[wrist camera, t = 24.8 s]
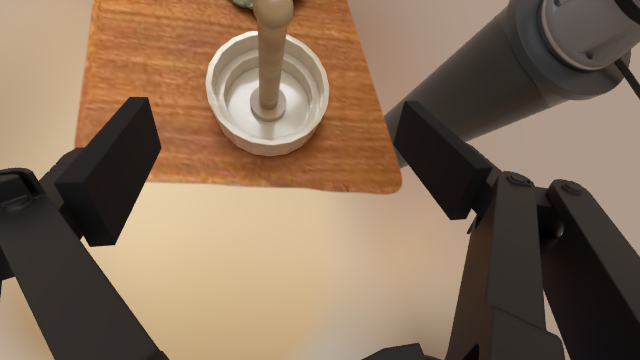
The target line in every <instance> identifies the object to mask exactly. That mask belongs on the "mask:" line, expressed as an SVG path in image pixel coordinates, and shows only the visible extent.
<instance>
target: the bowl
mask: <svg viewBox="0 0 640 360" xmlns="http://www.w3.org/2000/svg"><path fill="white" fill-rule="evenodd" d="M205 85H206V91H207V97H208V102H209V105H210V107H211V109H212V112H213V114H214V116H215V118H216V121H217V122H218V124H219V126H220V128H221V130H222V131H223V133H224V134H225V136H226V137H227V138H229V139H230V140H231V141H232V142H233V143H234V144H235V145H236V146H237V147H239V148H241V149H244V150H246V151H248V152H250V153H252V154H256V155H263V156H277V155H283V154H288V153H290V152H292V151H294V150H296V149H298V148H300V147H301V146H303V145H304V143H305V142H306V141H307V140H308V139H309V138H310V137H311V136H312V135H313V134H314V132H315V130H316V128H317V126H318V125H319V123H320V121H321V119H322V117H323V115H324V113H325V111H326V108H327V106H328V98H329V84H328V80H327V75H326V72H325V69H324V68H323V66H322V64H321V62H320V61H319V59H318V57H317V56H316V55H315V54H314V53H313V52H312V51H311V50H310V49H309V48H308V47H307V46H306V45H305V44H304V43H302V42H301V41H299V40H297V39H295V38H293V37H291V36H289V35H287V34H286V41H285V49H284V57H283V64H282V72H281V80H280V88H279V89H280V90H281V91H282V92H283V93H284V95H285V97H286V102H287V104H286V109H285V113H284V114H283V116H282V117H281V118H280V119H278V120H276V121H273V122H265V121H262V120H260V119H258V118H257V117H256V116H255V115H254V114H253V112H252V110H251V106H250V97H251V94H252V92H253V91H254V90H255V89H256V88H257V87H259V60H258V31H250V32H246V33H244V34H241V35H238V36H236V37H233V38H231V39H230V40H229V41H228V42H227V43H225V44H224V45H223V46H222V47H220V48H219V49H218V50H217V52H216V54H215V55H214V57H213V59H212V60H211V62H210V64H209V66H208V71H207V76H206V82H205Z"/></svg>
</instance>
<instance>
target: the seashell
mask: <svg viewBox="0 0 640 360" xmlns="http://www.w3.org/2000/svg"><path fill="white" fill-rule="evenodd" d="M292 1H293V0H292ZM233 2H234V4H236V5H238V6H241V7H243V8H249V9H252V10H253V0H233Z"/></svg>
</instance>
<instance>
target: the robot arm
mask: <svg viewBox="0 0 640 360" xmlns="http://www.w3.org/2000/svg"><path fill="white" fill-rule="evenodd" d="M537 26H538V30H539V33H540V36H541V39H542V41H543V43H544V44H545V46H546V48H547V49H548V51H549V52H550V53H551V54H552V55H553V57H554V58H555V59H556V60H558V61H559V62H560V63H561V64H563V65H564V66H566V67H568V68H570V69H572V70H574V71H578V72H583V73H589V72H595V71H597V70H600V69H602V68H604V67H606V66H608V65H610V64H611V63H613V62H614V63H615V65H616V66H617V67H618V69H619V70H620V72H621V73H622V74H623V76H624V77H625V79H626V80H627V81H628V83H629V84H630V86H631V87H632V89H633V90H634V92H635V93H636V95H637V96H638V97H639V99H640V85H639V83H638V82H637V80H636V79H635V77H634V76H633V74H632V73H631V72H630V70H629V69H628V67H627V66H626V65H625V63H624V62H623V60H622V59H621V58H620V57H621V56H623V55H624V54H625V53H626V52H628V51H629V50H630V49H631V48H632V47H633V46H635V45H636V44H637V43H639V42H640V0H541V1H540V3H539V6H538V9H537ZM393 145H394V146H395V147H396V149H397V150H398V151H399V153H400V154H401V155H402V157H403V158H404V159H405V161H406V162H407V163H408V164H409V166H410V167H411V168H412V170H413V171H414V172H415V174H416V175H417V176H418V178H419V179H420V180H421V182H422V183H423V184H424V186H425V187H426V188H427V190H428V191H429V192H430V194H431V195H432V196H433V198H434V199H435V200H436V202H437V203H438V204H439V206H440V207H441V208H442V210H443V211H444V212H445V213H446V215H447V216H448V218H449V219H450V220H460V219H466V218H467V216H468V214H469V212H470V210H471V209H473V210H474V211H475V212H476V214H477V215H476V217H475V219H474V221H473V223H472V224H471V226H470V228H469V230H468V232H467V234H470V232H471V236H470V240H469V245H468V251H467V256H466V261H465V266H464V271H463V276H462V281H461V286H460V292H459V296H458V302H457V306H456V312H455V317H454V322H453V327H452V332H451V337H450V342H449V347H448V351H447V354H446V357H445V360H565V356H564V348H563V345H562V341H561V339H560V338H559V337H558V336H557V335H555V334H552V333H550V332H548V331H547V330H546V322H545V310H544V296H543V289H544V292H545V295H546V297H547V300H548V303H549V305H550V308H551V310H552V313H553V315H554V318H555V321H556V323H557V326H558V328H559V331H560V334H561V336H562V339H563V341H564V344H565V346H566V349H567V352H568V354H569V357H570V359H571V360H640V257H639V255H638V254H637V253H636V251H635V250H634V249H633V248H632V246H631V245H630V244H629V242H628V241H627V240H626V239H625V237H624V236H623V235H622V234H621V232H620V231H619V230H618V228H617V227H616V226H615V224H614V223H613V222H612V221H611V219H610V218H609V217H608V215H607V214H606V213H605V212H604V210H603V209H602V208H601V206H600V205H599V204H598V203H597V202H596V200H595V199H594V198H593V196H592V195H591V194H590V193H589V192H588V191H587V190H586V189H585V188H583V187H582V186H581V185H579V184H577V183H575V182H573V181H567V180H561V179H557V180H554V181H553V182H552V183H551V185H550V186H549V188H548V189H547V188H540V187H535V186H534V183H533V182H532V181H530V179H528V178H526V177H525V176H523V175H520V174H518V173H514V172H510V171H504V172H502V171H501V170H499V169H498V168H497V167H496V166H495V165H494V164H492V163H491V162H490V161H489V160H488V159H487V158H485V157H484V156H483V155H482V154H480V153H479V152H478V151H477V150H476V149H475V148H474V147H473V146H471V145H469V144H467V143H465V142H463V141H462V140H461V139H460V138H459V137H458V136H457V135H455V134H454V133H453V132H452V131H451V130H450V129H449V128H447V127H446V126H445V125H444V124H443V123H442V122H440V121H439V120H438V119H437V118H436V117H435V116H434V115H432V114H431V113H430V112H429V111H428V110H427V109H426V108H424V107H423V106H422V105H421V104H420V103H419V102H417V101H405V102H404V106H403V110H402V114H401V117H400V121H399V125H398V128H397V132H396V136H395V140H394V143H393ZM160 150H161V144H160V140H159V137H158V133H157V129H156V126H155V122H154V118H153V115H152V111H151V107H150V104H149V100H148V97H129V98H128V100H127V101H126V102H125V103H124V104H123V105H122V106H121V107H120V109H119V110H118V111H117V112H116V113H115V114H114V115H113V116H112V118H111V119H110V120H109V121H108V122H107V123H106V124H105V125H104V127H103V128H102V129H101V130H100V131H99V132H98V133H97V134H96V136H95V137H94V138H93V139H92V140H91V141H90V142H89V144H88V145H87V146H86V147H85V148H75V149H74V150H72V151H70V152H68V153H66V154H65V155H63V157H61V158H60V160H59V161H58V162H57V163H56V165H54V166H53V167H52V168H51V169H50V172H47V173H46V174H45V175H44V176H43V177H42V178H41V179H40V180H39V181H38V180H37V178H36V176H35V175H34V173H33V172H32V171H31V170H29V169H26V168H8V169H4V170H0V295H1V285H2V280H5V279H8V278H12V277H16V279H17V281H18V283H19V286H20V288H21V290H22V292H23V294H24V296H25V298H26V300H27V302H28V305H29V307H30V309H31V311H32V313H33V315H34V317H35V319H36V321H37V323H38V326H39V328H40V330H41V332H42V334H43V336H44V338H45V340H46V342H47V344H48V347H49V349H50V351H51V353H52V355H53V357H54V359H55V360H169V359H168V357H167V356H166V355H165V354H164V352H163V351H160V350H159V349H158V347H157V346H156V344H155V343H154V342H153V340H152V339H151V338H150V336H149V335H148V334H147V332H146V331H145V329H144V328H143V327H142V325H141V324H140V323H139V321H138V320H137V318H136V317H135V316H134V314H133V313H132V311H131V310H130V309H129V307H128V306H127V305H126V303H125V302H124V300H123V299H122V298H121V296H120V295H119V294H118V292H117V291H116V290H115V288H114V287H113V285H112V284H111V282H110V281H109V280H108V278H107V277H106V276H105V274H104V273H103V271H102V270H101V269H100V267H99V266H98V265H97V263H96V262H95V261H94V259H93V258H92V256H91V255H90V254H89V252H88V251H87V250H86V248H85V247H84V245H83V244H82V243H81V241H80V240H81V238H82V236H84V237H85V239H86V241H87V242H88V244H89V246H90V247H96V246H108V245H115V244H116V242H117V239H118V237H119V235H120V233H121V231H122V229H123V227H124V225H125V223H126V221H127V218H128V217H129V215H130V213H131V210H132V208H133V206H134V204H135V202H136V200H137V198H138V196H139V194H140V192H141V190H142V188H143V186H144V183H145V181H146V179H147V177H148V175H149V173H150V171H151V169H152V167H153V165H154V163H155V161H156V159H157V157H158V154H159V152H160ZM561 234H562V235H561ZM362 360H440V359H438V358H435V357H432V356H428V355H424V354H423V351H422V349H421V347H420V344H419V343H415V344H408V345H402V346H396V347H390V348H384V349H382V350H380V351H378V352H376V353H374V354H372V355H370V356H368V357H366V358H364V359H362Z"/></svg>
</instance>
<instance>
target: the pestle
mask: <svg viewBox="0 0 640 360" xmlns="http://www.w3.org/2000/svg"><path fill="white" fill-rule="evenodd" d="M253 11H254V15H255V17H256V19H257V21H258V60H259V87H257V88H256V89H255V90H254V91H253V92H252V94H251V97H250V106H251V110H252V112H253V114H254V115H255V116H256V117H257V118H258V119H260V120H262V121H265V122H273V121H276V120H278V119H280V118H281V117H282V116H283V114H284V113H285V109H286V104H287V102H286V97H285V95H284V93H283V92H282V91H281V90H280V89H279V88H280V80H281V72H282V64H283V57H284V49H285V41H286V33H287V25H288V24H289V23H290V21H291V19H292V17H293V12H294V6H293V1H292V0H253Z"/></svg>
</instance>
